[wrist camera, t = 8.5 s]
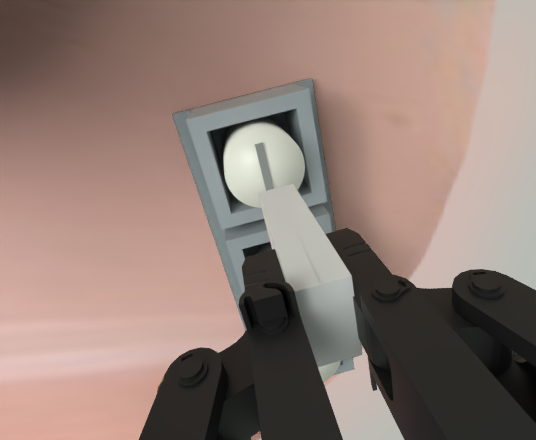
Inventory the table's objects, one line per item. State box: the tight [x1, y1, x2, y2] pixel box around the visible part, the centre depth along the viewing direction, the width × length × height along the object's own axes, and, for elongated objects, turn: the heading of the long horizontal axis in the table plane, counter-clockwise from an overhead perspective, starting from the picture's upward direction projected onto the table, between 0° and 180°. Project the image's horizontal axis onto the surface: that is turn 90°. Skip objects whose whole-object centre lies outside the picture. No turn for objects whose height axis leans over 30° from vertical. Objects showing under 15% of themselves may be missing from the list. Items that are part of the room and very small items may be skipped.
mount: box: [172, 78, 354, 375], centre depth 30 cm, size 26×11×6 cm, turn 13°
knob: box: [223, 117, 305, 208], centre depth 25 cm, size 5×5×6 cm
